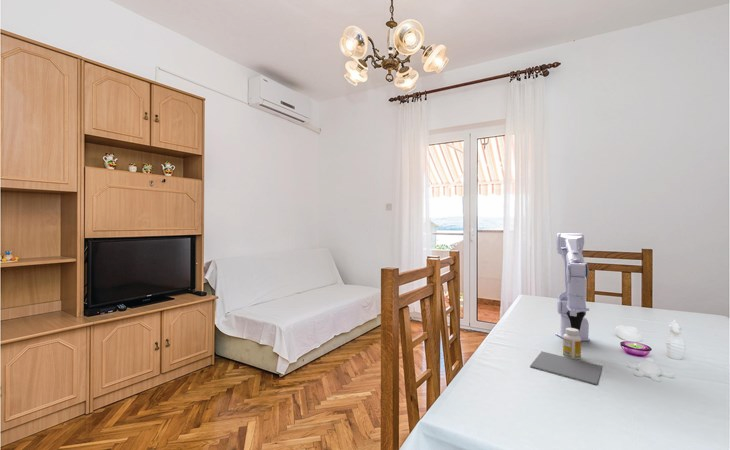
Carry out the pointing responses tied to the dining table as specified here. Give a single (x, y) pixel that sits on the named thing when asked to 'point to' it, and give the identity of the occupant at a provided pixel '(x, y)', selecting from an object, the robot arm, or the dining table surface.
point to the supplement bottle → (572, 343)
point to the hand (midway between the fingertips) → (575, 331)
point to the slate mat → (568, 367)
